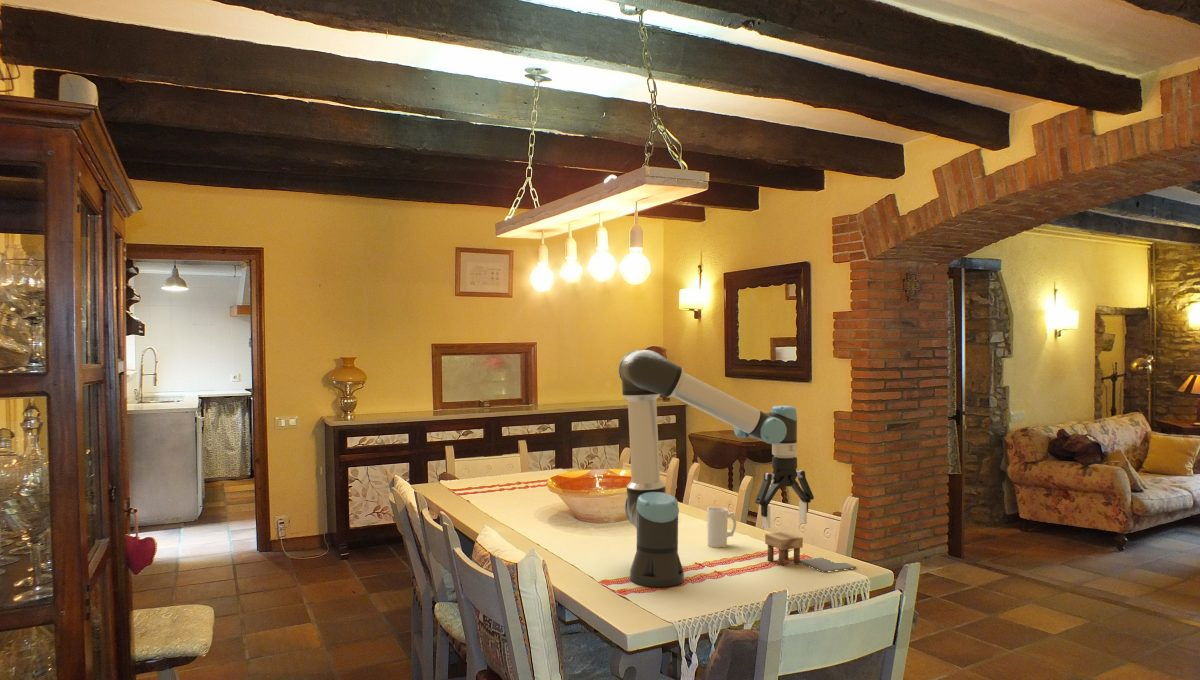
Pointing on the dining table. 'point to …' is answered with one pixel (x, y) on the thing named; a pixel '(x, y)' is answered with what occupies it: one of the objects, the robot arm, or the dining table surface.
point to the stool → (783, 546)
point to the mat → (826, 564)
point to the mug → (719, 526)
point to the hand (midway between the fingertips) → (785, 525)
